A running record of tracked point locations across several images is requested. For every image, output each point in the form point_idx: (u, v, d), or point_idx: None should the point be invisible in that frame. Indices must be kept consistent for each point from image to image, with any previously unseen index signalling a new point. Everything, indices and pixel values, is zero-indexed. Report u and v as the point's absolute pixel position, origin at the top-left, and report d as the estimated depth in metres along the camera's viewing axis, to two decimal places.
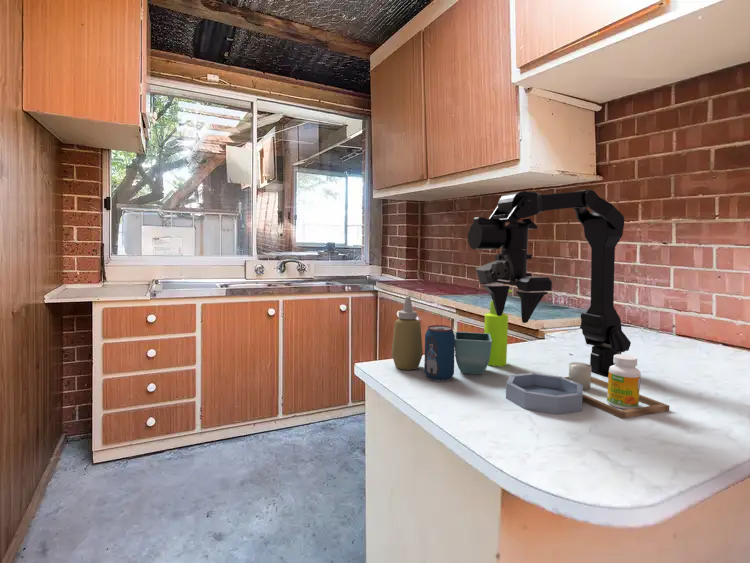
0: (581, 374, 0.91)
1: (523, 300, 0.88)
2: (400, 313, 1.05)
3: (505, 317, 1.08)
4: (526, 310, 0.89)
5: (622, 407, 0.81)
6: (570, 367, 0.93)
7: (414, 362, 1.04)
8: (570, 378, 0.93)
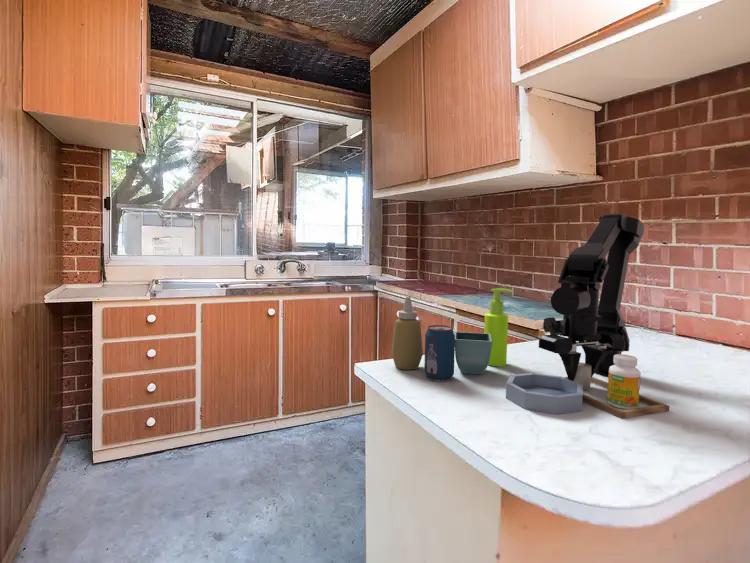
0: (581, 374, 0.91)
1: None
2: (400, 313, 1.05)
3: (505, 317, 1.08)
4: (565, 367, 0.92)
5: (622, 407, 0.81)
6: None
7: (414, 362, 1.04)
8: None
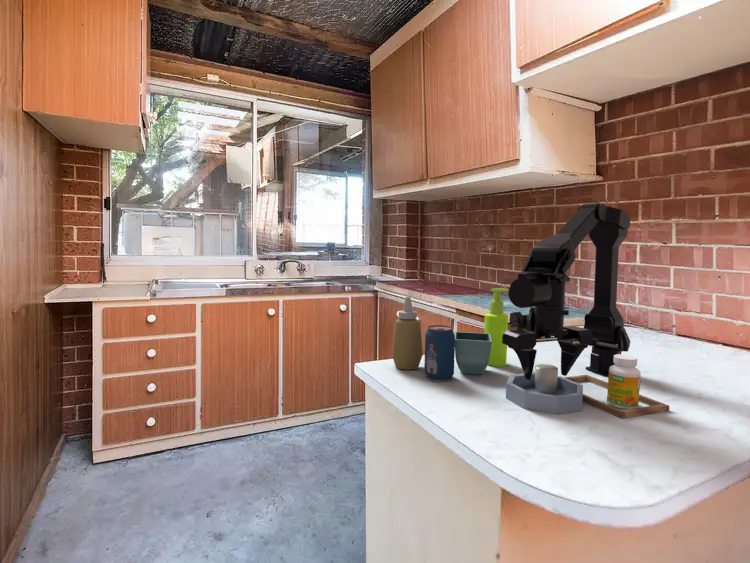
0: (547, 377, 0.86)
1: None
2: (400, 313, 1.05)
3: (505, 317, 1.08)
4: (522, 365, 0.87)
5: (622, 407, 0.81)
6: (536, 369, 0.88)
7: (414, 362, 1.04)
8: (536, 381, 0.88)
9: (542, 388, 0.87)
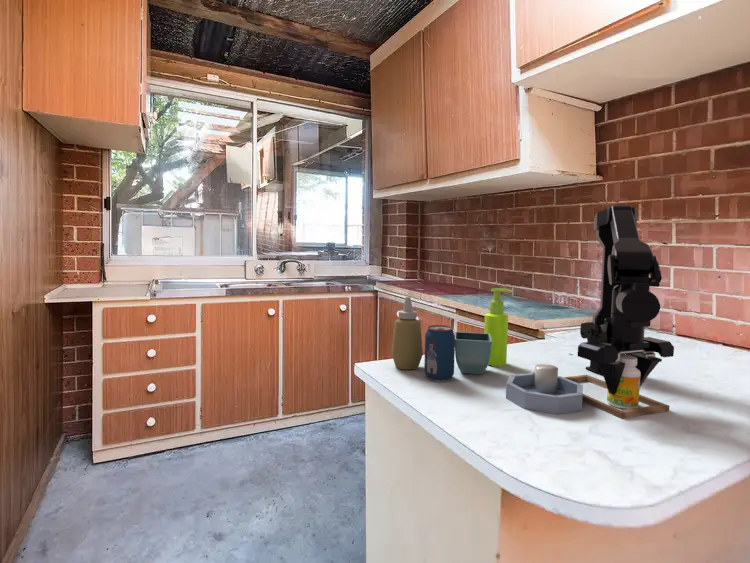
0: (547, 377, 0.86)
1: None
2: (400, 313, 1.05)
3: (505, 317, 1.08)
4: (606, 378, 0.82)
5: (622, 407, 0.81)
6: (536, 369, 0.88)
7: (414, 362, 1.04)
8: (536, 381, 0.88)
9: (542, 388, 0.87)
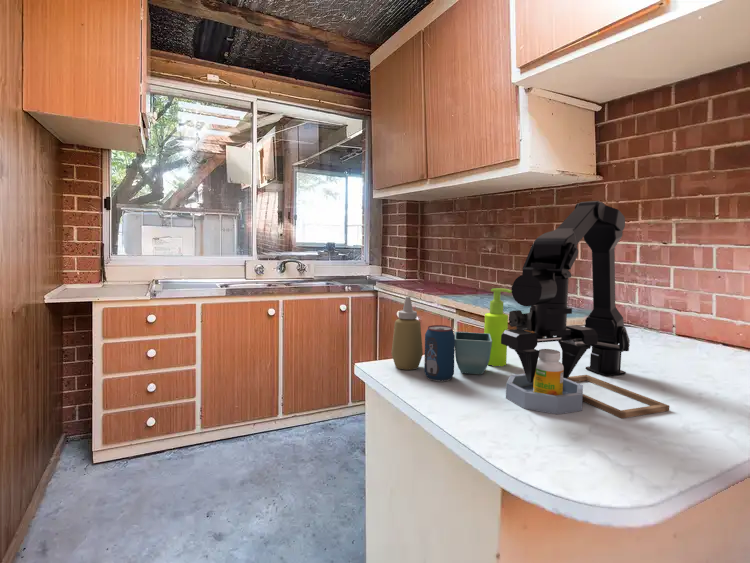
0: None
1: None
2: (400, 313, 1.05)
3: (505, 317, 1.08)
4: (524, 366, 0.81)
5: None
6: None
7: (414, 362, 1.04)
8: None
9: None
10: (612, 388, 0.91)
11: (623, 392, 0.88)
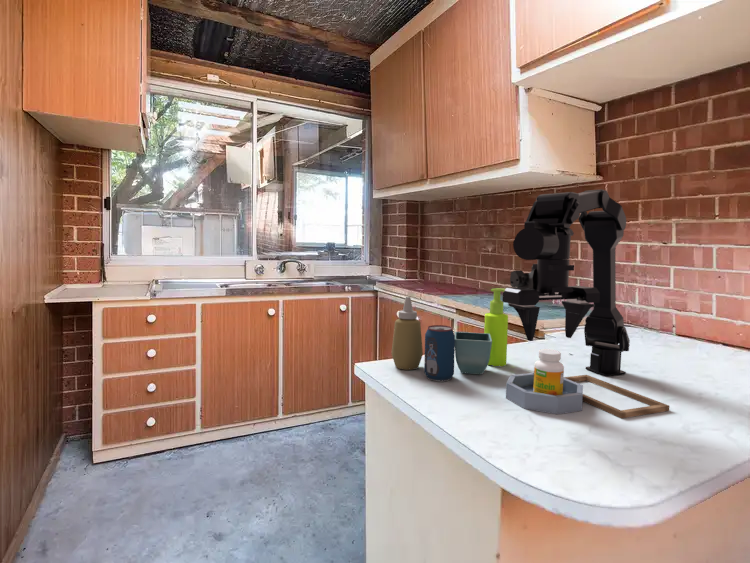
0: None
1: None
2: (400, 313, 1.05)
3: (505, 317, 1.08)
4: (524, 325, 0.81)
5: None
6: None
7: (414, 362, 1.04)
8: None
9: None
10: (612, 388, 0.91)
11: (623, 392, 0.88)
